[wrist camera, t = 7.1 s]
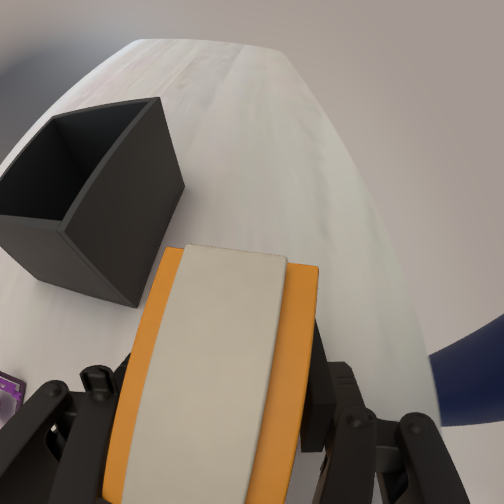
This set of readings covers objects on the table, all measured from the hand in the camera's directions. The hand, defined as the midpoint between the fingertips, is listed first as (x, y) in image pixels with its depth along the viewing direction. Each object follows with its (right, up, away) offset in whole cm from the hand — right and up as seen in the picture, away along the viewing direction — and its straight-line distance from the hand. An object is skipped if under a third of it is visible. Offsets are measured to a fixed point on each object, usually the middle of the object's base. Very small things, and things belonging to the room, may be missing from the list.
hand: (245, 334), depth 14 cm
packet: (0, -5, +1) cm, 5 cm away
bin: (-13, +6, +9) cm, 17 cm away
